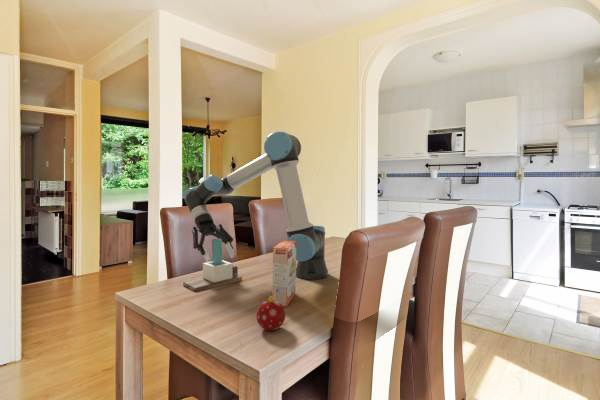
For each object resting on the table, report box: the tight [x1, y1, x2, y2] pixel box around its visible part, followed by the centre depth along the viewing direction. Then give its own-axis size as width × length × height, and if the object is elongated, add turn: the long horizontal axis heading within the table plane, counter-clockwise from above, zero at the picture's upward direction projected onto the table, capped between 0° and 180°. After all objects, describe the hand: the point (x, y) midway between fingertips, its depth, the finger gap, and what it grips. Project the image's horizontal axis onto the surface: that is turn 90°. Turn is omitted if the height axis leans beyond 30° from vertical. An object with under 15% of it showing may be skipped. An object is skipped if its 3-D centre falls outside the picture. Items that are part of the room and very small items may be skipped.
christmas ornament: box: [255, 295, 286, 331], centre depth 102 cm, size 9×9×10 cm
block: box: [202, 259, 234, 282], centre depth 146 cm, size 9×9×6 cm
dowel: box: [211, 238, 223, 266], centre depth 145 cm, size 4×4×15 cm
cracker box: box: [271, 240, 297, 308], centre depth 125 cm, size 14×6×21 cm, turn 168°
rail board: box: [182, 264, 243, 293], centre depth 144 cm, size 10×22×6 cm, turn 134°
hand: (221, 258), depth 143 cm, fingers open, 11 cm apart
